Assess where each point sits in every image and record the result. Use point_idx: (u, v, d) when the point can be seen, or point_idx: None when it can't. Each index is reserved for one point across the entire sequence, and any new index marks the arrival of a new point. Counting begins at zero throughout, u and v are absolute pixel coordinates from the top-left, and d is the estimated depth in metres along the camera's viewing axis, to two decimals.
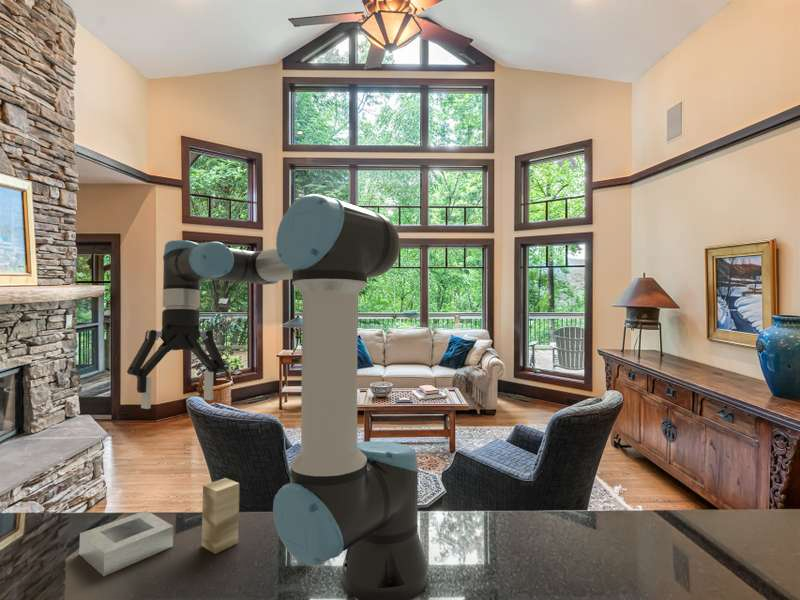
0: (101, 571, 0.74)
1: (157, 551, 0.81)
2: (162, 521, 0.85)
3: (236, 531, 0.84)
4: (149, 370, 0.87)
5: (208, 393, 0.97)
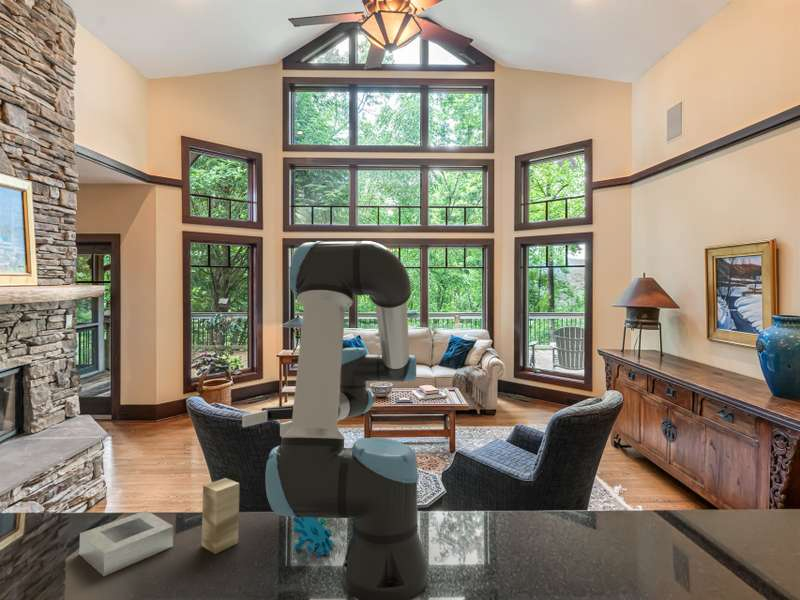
0: (101, 571, 0.74)
1: (157, 551, 0.81)
2: (162, 521, 0.85)
3: (236, 531, 0.84)
4: (271, 410, 1.03)
5: None
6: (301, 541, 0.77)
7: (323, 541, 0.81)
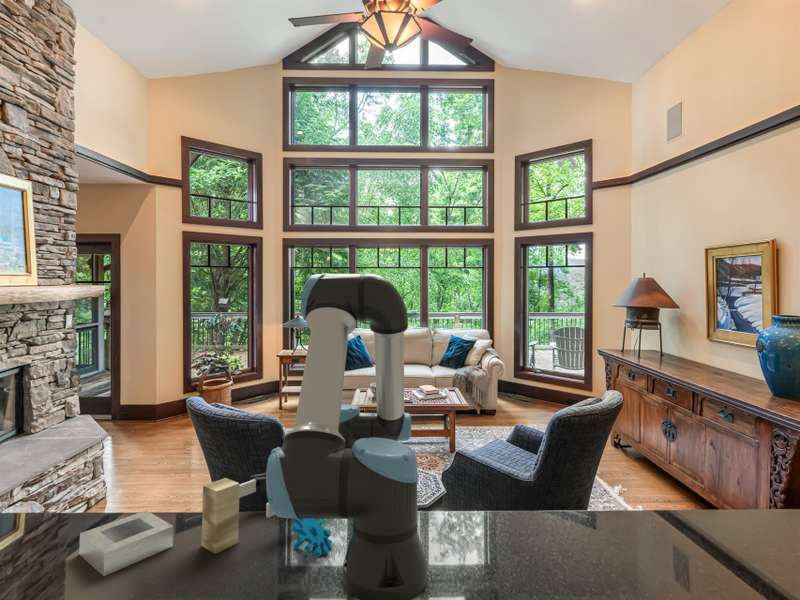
0: (101, 571, 0.74)
1: (157, 551, 0.81)
2: (162, 521, 0.85)
3: (236, 531, 0.84)
4: (260, 478, 1.00)
5: None
6: (299, 541, 0.77)
7: (322, 541, 0.81)
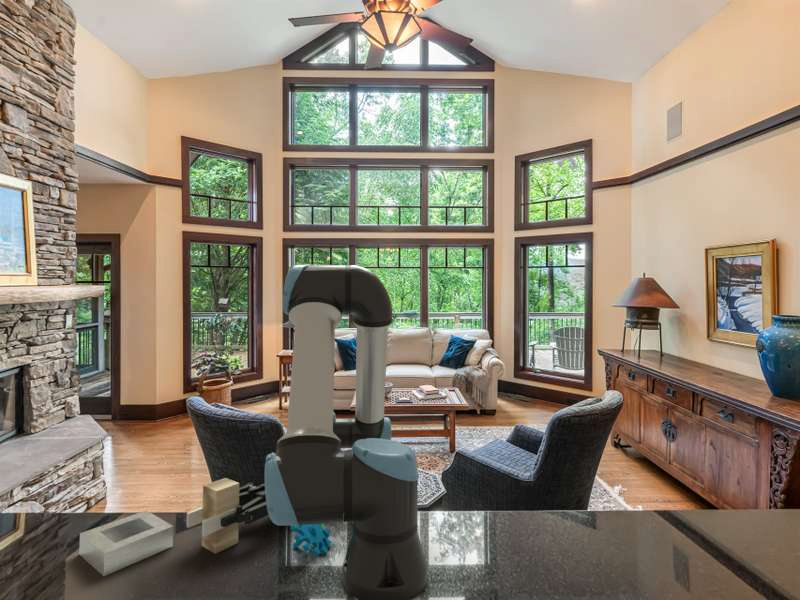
0: (101, 571, 0.74)
1: (157, 551, 0.81)
2: (162, 521, 0.85)
3: (236, 531, 0.84)
4: None
5: None
6: (297, 540, 0.77)
7: (320, 541, 0.81)
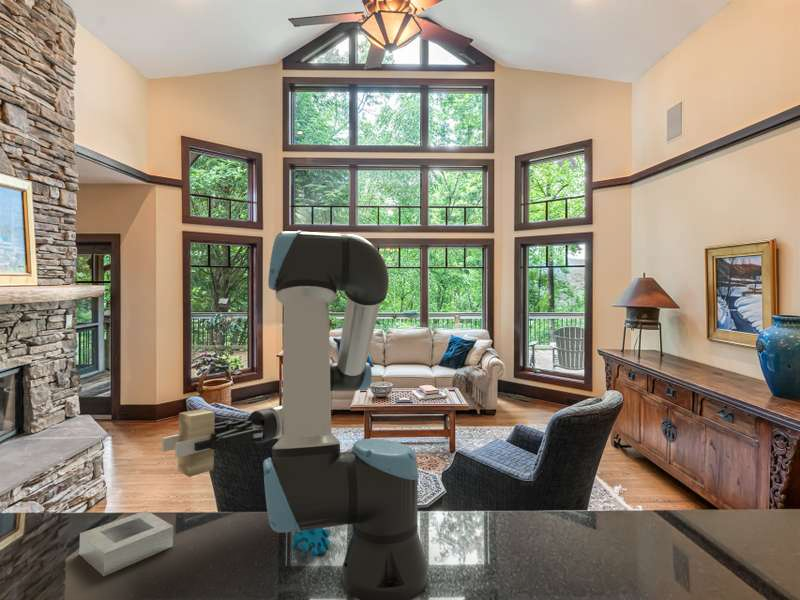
0: (101, 571, 0.74)
1: (157, 551, 0.81)
2: (162, 521, 0.85)
3: (211, 458, 0.86)
4: None
5: None
6: (295, 540, 0.78)
7: (319, 541, 0.81)
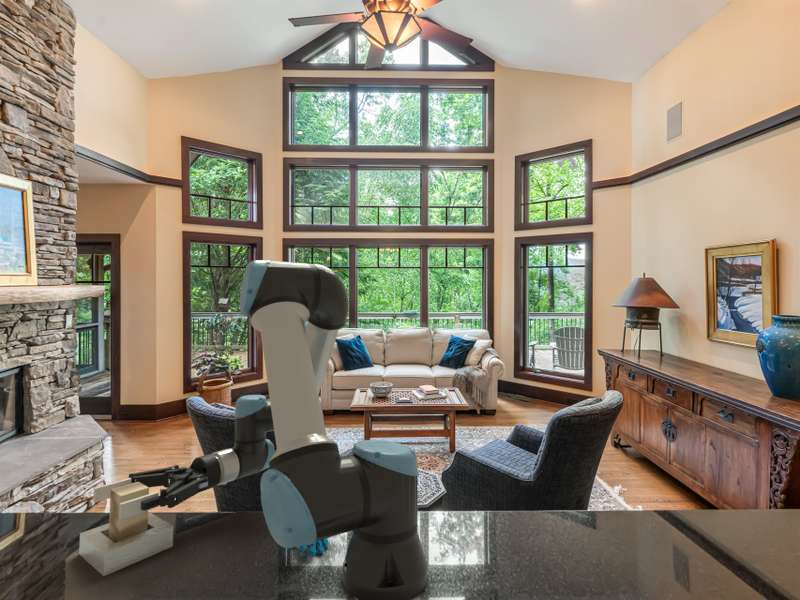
0: (101, 571, 0.74)
1: (157, 551, 0.81)
2: (162, 521, 0.85)
3: None
4: (138, 476, 0.89)
5: None
6: None
7: None
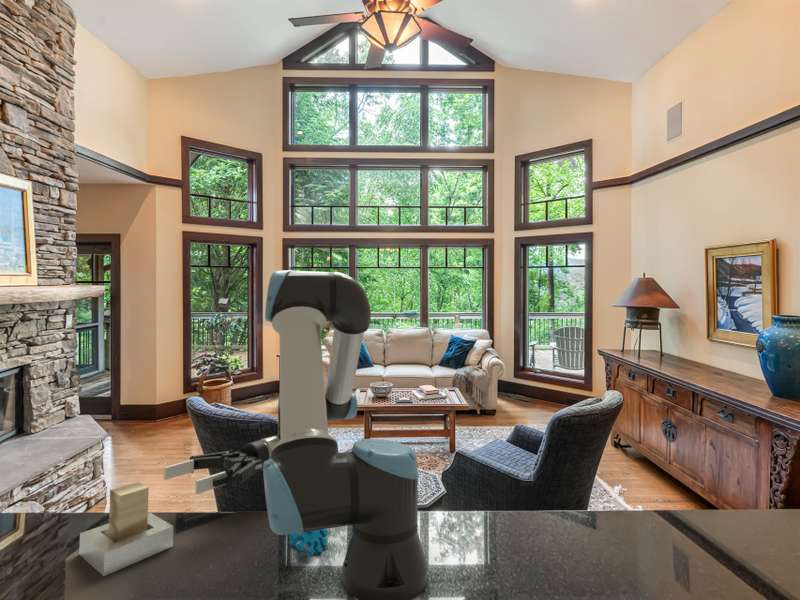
0: (101, 571, 0.74)
1: (157, 551, 0.81)
2: (162, 521, 0.85)
3: None
4: (198, 458, 1.01)
5: None
6: (291, 538, 0.78)
7: (316, 540, 0.82)
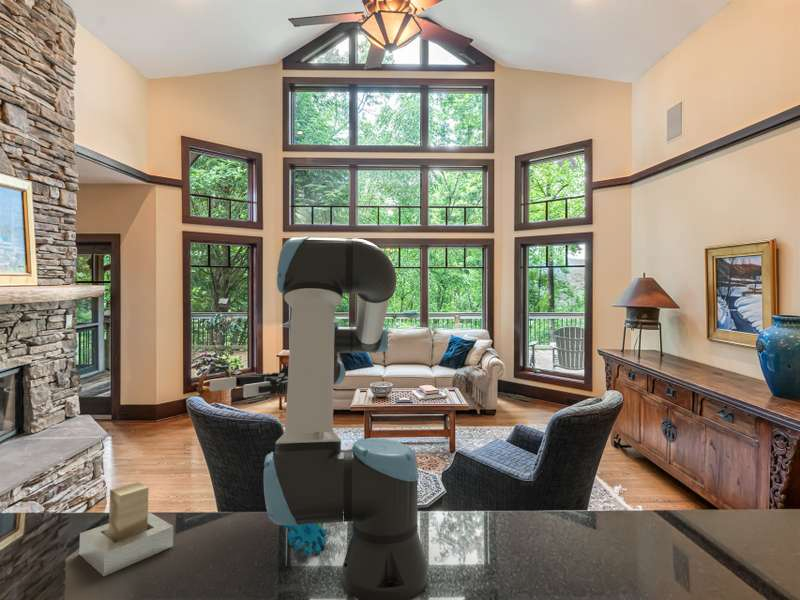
0: (101, 571, 0.74)
1: (157, 551, 0.81)
2: (162, 521, 0.85)
3: None
4: (240, 377, 1.05)
5: None
6: (289, 537, 0.78)
7: (314, 540, 0.82)
